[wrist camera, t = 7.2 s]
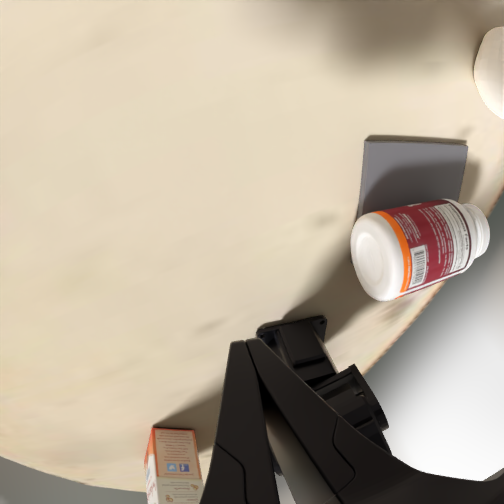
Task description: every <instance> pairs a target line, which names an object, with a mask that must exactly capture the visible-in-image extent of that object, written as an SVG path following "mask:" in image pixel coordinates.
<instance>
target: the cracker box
mask: <svg viewBox="0 0 504 504" xmlns="http://www.w3.org/2000/svg"><path fill="white" fill-rule="evenodd" d="M144 464H145V476H146V489H147V500H148V504H199V502H200V499H201V496H202V493H203V490H204V486H203V480H202V475H201V469H200V463H199V457H198V451H197V444H196V438H195V432H194V430H180V429H164V428H152V430H151V434H150V439H149V443H148V447H147V452H146V456H145V461H144Z"/></svg>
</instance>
